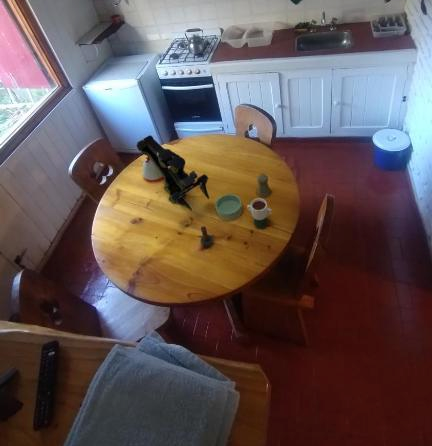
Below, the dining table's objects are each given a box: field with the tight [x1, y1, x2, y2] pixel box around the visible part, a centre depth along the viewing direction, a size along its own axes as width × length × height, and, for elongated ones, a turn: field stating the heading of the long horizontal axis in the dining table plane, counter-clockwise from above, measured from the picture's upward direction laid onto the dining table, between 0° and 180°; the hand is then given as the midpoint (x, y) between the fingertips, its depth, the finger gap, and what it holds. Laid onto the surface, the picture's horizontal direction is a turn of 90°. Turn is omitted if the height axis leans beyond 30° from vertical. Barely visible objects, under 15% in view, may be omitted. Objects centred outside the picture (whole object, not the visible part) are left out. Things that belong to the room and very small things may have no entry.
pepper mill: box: [256, 173, 271, 198], centre depth 166 cm, size 6×6×11 cm
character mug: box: [246, 197, 273, 230], centre depth 151 cm, size 11×7×13 cm, turn 69°
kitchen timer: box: [141, 156, 165, 183], centre depth 189 cm, size 14×14×15 cm
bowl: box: [214, 193, 243, 221], centre depth 163 cm, size 12×12×4 cm
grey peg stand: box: [200, 225, 214, 248], centre depth 149 cm, size 5×5×10 cm
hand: (200, 204), depth 150 cm, fingers open, 9 cm apart
